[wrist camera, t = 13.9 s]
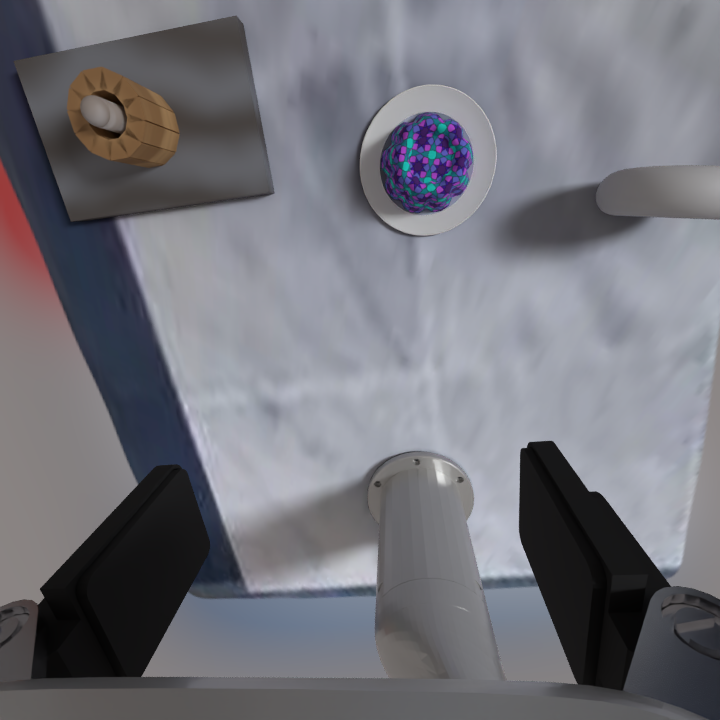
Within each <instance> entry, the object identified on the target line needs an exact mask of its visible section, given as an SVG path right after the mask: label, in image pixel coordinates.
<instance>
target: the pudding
mask: <svg viewBox="0 0 720 720" xmlns="http://www.w3.org/2000/svg"><path fill="white" fill-rule="evenodd" d="M422 112H426V113H423V114H420V115H418V116H417V118H416V119H415V120H414V122H413V123H407V122H403V123H402V124H400V123H401V122H402V121H403V120H405V119H406V118H408V117H410V116H412V115H415V114H417V113H422ZM429 112H438V113H443V114H445V115H447V116H450V117H452V118H453V119H454V120H456V121H457V122H456V121H454V120H452V119H447V120H442V119H441V118H440V117H439V115H437V114H435V113H429ZM458 123H459V124H460V125H461V126H462V127H463V128H464V130H465V131H466V133H467V134H468V136H469V138H470V141H471V144H472V148H473V151H472V148H471V145H470V144H469V142H468V141H466V140H465V139H464V138H463V129H462V128H461V126H460V125H459V124H458ZM398 124H400V125H399V126H398V127H396V126H397V125H398ZM395 127H396V129H395V130H394V128H395ZM393 130H394V132H393V133H392V135H391V146H390V147H388V148H387V149H386V150H385V151H384V152H383V155H382V158H381V153H382V150H383V147H384V144H385V142H386V140H387V138H388V137H389V135H390V133H391V132H392V131H393ZM473 153H474V166H473V173H472V176H471V180H470V182H469V184H468V181H469V177H468V173H467V169H468V168H469V166H470V165H471V164H472V162H473ZM380 158H381V167H382V170H383V171H384V172H385V174H386V175H387V178H386V182H385V187H386V190H387V193H388V194H389V195H390V196H391V197H392V198H393V199H397V200H401V201H402V204H403V206H404V208H405V209H406V210H408V211H410V212H413V213H420V212H421V211H423V210H425V209H428V210H430V211H432V212H437V211H441V212H439V213H436V214H431V215H416V214H412V213H409V212H407V211H404V210H403V209H401V208H400V207H398V206H397V205H396V204H395V203H394V202H393V201H392V200H391V199H390V197H389V196H388V195H387V193H386V191H385V189H384V187H383V184H382V180H381V175H380ZM496 161H497V156H496V142H495V137H494V133H493V130H492V127H491V124H490V122H489V120H488V118H487V117H486V115H485V113H484V112H483V110H482V109H481V108H480V107H479V105H478V104H477V103H476V102H475V101H474V100H473V99H471V98H470V97H469V96H467V95H466V94H465V93H463V92H461V91H459V90H456V89H454V88H452V87H447V86H443V85H423V86H418V87H414V88H411V89H409V90H406V91H404V92H402V93H400V94H399V95H397V96H396V97H394V98H392V99H391V100H390V101H389V102H388V103H387V104H386V105H385V106H383V107H382V108H381V110H380V111H379V112H378V113H377V115H376V116H375V117H374V119H373V120H372V122H371V124H370V126H369V128H368V130H367V132H366V135H365V138H364V140H363V143H362V148H361V154H360V176H361V183H362V186H363V190H364V193H365V195H366V197H367V200H368V202H369V204H370V205H371V207H372V208H373V210H374V211H375V212H376V214H377V215H378V216H379V217H380V218H381V219H382V220H383V221H384V222H386V223H387V224H389V225H390V226H392V227H393V228H395V229H397V230H399V231H402V232H404V233H408V234H412V235H422V236H428V235H435V234H440V233H443V232H446V231H449V230H451V229H453V228H454V227H456V226H458V225H460V224H461V223H463V222H464V221H465V220H466V219H468V218H469V217H470V216H471V215H472V214H473V213H474V212H475V211H476V210H477V209H478V207H479V206H480V204H481V203H482V202H483V200H484V199H485V197H486V195H487V193H488V191H489V189H490V187H491V184H492V180H493V177H494V174H495V168H496ZM467 184H468V186H467ZM466 187H467V188H466ZM465 189H466V190H465ZM464 190H465V191H464ZM463 191H464V193H463V194H462V196H461V197H460V198H459V199H458V200H457V201H456V202H455V203H454V204H453V205H452V206H450V207H449V208H447V209H445V208H446V207H447V206H449V203H450V201H451V198H452V197H454V196H458V195H461V193H462V192H463ZM443 209H445V210H443ZM442 210H443V211H442Z"/></svg>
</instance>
